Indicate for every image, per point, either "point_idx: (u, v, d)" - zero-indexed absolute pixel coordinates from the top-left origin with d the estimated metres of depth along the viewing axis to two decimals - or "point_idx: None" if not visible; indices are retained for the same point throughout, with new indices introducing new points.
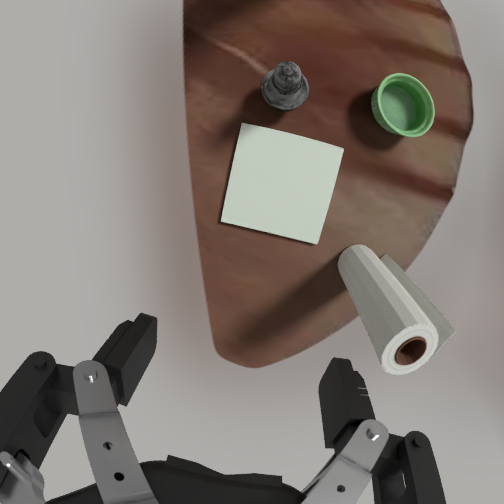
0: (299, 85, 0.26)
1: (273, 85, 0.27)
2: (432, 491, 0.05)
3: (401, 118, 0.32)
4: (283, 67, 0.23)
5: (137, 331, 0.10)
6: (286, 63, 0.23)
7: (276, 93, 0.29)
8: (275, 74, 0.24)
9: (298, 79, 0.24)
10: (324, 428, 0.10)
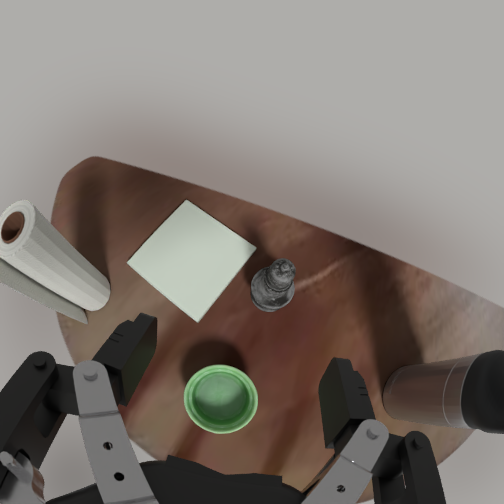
0: (269, 286, 0.33)
1: None
2: (432, 491, 0.05)
3: (208, 397, 0.33)
4: (289, 266, 0.31)
5: (137, 331, 0.10)
6: (292, 270, 0.31)
7: None
8: (285, 259, 0.31)
9: (274, 275, 0.31)
10: (324, 428, 0.10)
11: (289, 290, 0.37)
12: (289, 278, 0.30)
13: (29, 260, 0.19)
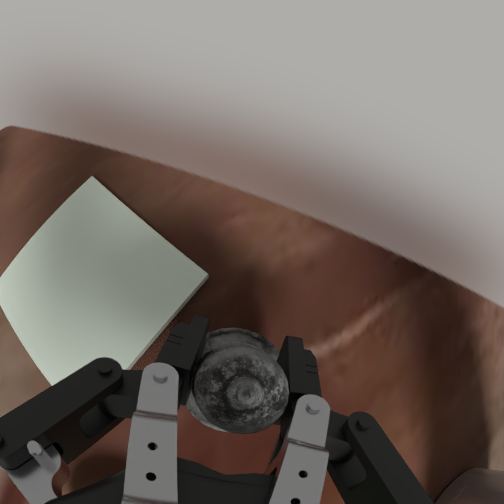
0: None
1: (235, 346, 0.11)
2: (396, 469, 0.06)
3: None
4: (265, 385, 0.07)
5: (196, 332, 0.11)
6: (277, 401, 0.07)
7: None
8: (252, 351, 0.08)
9: (205, 412, 0.07)
10: None
11: None
12: (262, 426, 0.07)
13: None
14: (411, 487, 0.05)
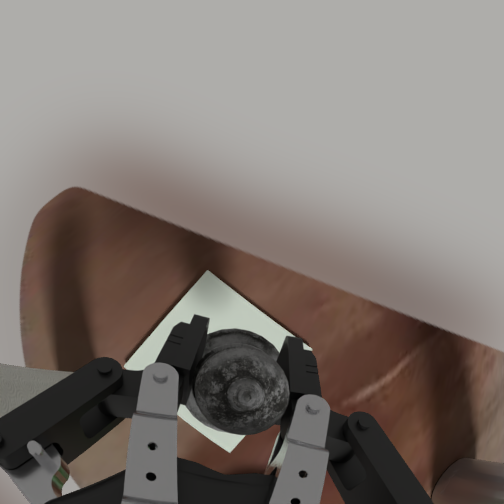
0: None
1: (236, 347, 0.11)
2: (396, 469, 0.06)
3: None
4: (266, 386, 0.07)
5: (196, 332, 0.11)
6: (277, 402, 0.07)
7: None
8: (253, 352, 0.08)
9: (205, 413, 0.07)
10: None
11: None
12: (263, 427, 0.07)
13: None
14: (411, 487, 0.05)
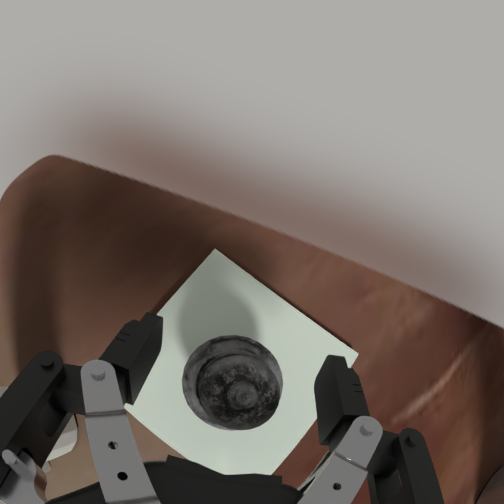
0: None
1: (234, 353, 0.12)
2: (429, 488, 0.05)
3: None
4: (259, 389, 0.08)
5: (144, 330, 0.10)
6: (269, 402, 0.08)
7: None
8: (249, 360, 0.09)
9: (208, 411, 0.08)
10: (318, 425, 0.10)
11: None
12: (257, 424, 0.08)
13: None
14: None
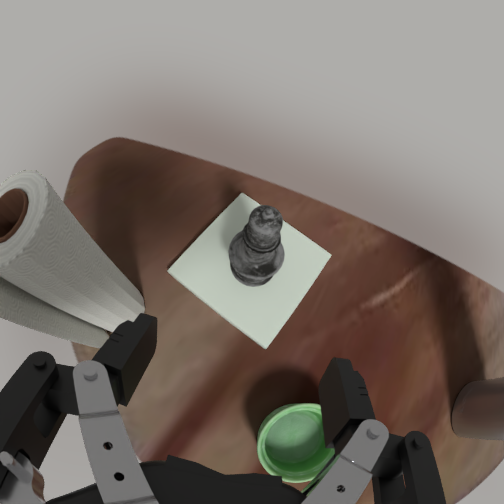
0: (249, 244, 0.25)
1: None
2: (432, 491, 0.05)
3: (279, 438, 0.25)
4: (274, 213, 0.23)
5: (137, 331, 0.10)
6: (278, 220, 0.23)
7: None
8: (269, 206, 0.23)
9: (253, 225, 0.23)
10: (324, 428, 0.10)
11: (277, 257, 0.29)
12: (274, 229, 0.22)
13: (35, 273, 0.11)
14: None
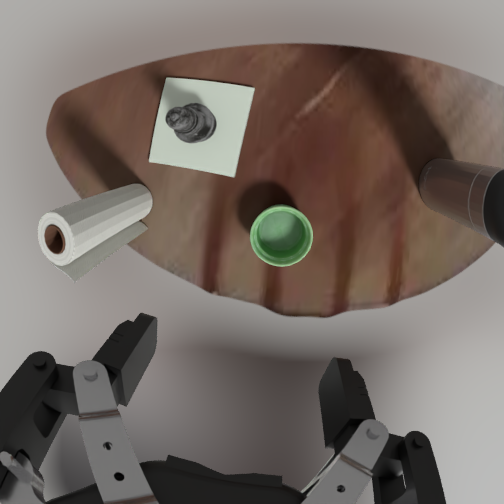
0: (179, 131, 0.32)
1: None
2: (432, 491, 0.05)
3: (271, 234, 0.44)
4: (178, 113, 0.28)
5: (137, 331, 0.10)
6: (183, 115, 0.28)
7: None
8: (174, 107, 0.28)
9: (170, 126, 0.29)
10: (324, 428, 0.10)
11: (207, 119, 0.34)
12: (183, 123, 0.29)
13: (84, 246, 0.26)
14: None
